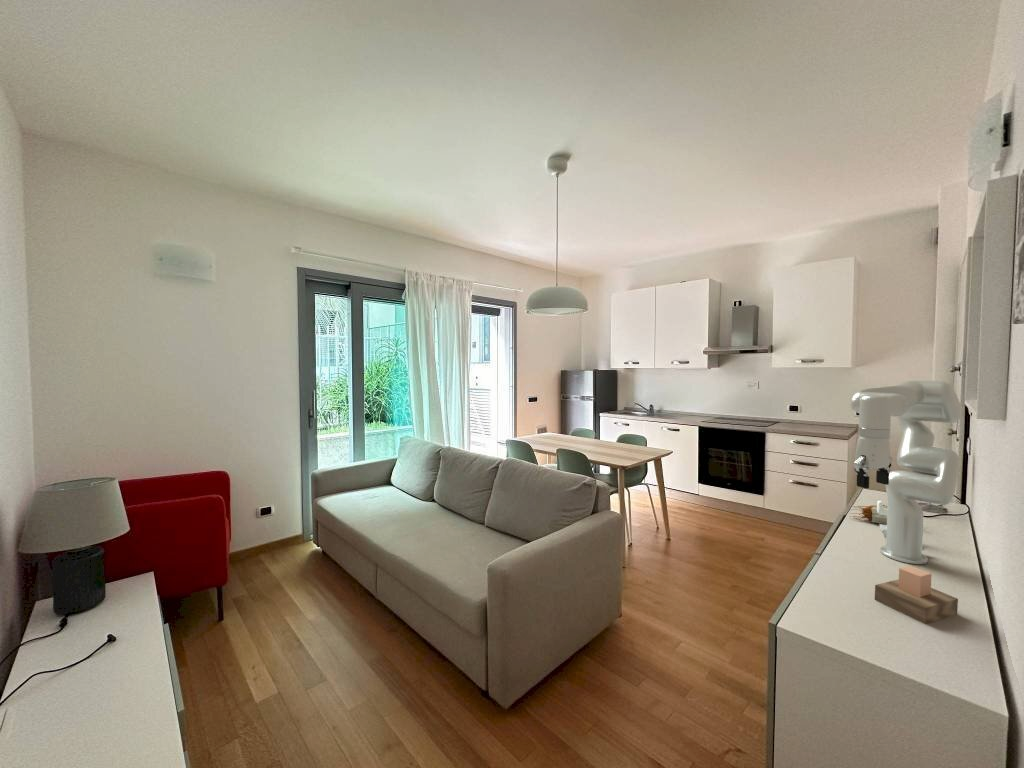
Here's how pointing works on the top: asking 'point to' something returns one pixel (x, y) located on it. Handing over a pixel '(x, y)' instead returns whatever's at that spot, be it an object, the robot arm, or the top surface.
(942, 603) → the walnut plinth
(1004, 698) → the top surface
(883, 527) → the figurine
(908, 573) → the peach block
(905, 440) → the robot arm
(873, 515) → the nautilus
